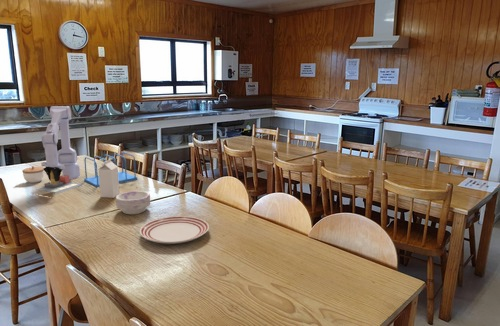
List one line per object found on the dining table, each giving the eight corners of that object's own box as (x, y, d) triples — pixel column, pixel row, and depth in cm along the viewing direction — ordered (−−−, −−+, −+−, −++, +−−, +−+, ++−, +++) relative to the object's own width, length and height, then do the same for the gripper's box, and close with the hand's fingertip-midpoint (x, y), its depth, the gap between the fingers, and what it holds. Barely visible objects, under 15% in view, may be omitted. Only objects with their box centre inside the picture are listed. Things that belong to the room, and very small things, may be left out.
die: (63, 181, 220) (62, 174, 219) (69, 182, 220) (69, 175, 219) (59, 183, 217) (58, 176, 216) (65, 184, 216) (64, 177, 215)
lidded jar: (38, 185, 216) (36, 169, 214) (20, 184, 216) (17, 168, 214) (48, 179, 226) (46, 164, 224) (30, 179, 227) (29, 164, 224)
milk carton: (119, 193, 202) (117, 159, 198) (113, 198, 195) (111, 162, 191) (106, 193, 203) (104, 158, 198) (100, 197, 196) (97, 161, 192)
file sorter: (96, 188, 212) (94, 161, 208) (84, 181, 224) (81, 156, 220) (137, 180, 229) (136, 155, 225) (123, 174, 241) (122, 150, 237)
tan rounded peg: (55, 182, 206) (54, 168, 204) (60, 182, 204) (59, 168, 203) (49, 183, 202) (48, 169, 201) (54, 184, 201) (53, 170, 199)
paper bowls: (134, 203, 188) (134, 188, 186) (157, 209, 180) (156, 193, 179) (109, 212, 175) (108, 196, 173) (132, 219, 168) (131, 202, 166)
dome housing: (55, 184, 217) (54, 180, 216) (63, 186, 215) (63, 181, 214) (44, 187, 211) (44, 183, 210) (53, 189, 208) (53, 185, 208)
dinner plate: (137, 226, 161) (136, 218, 160) (200, 218, 171) (200, 211, 170) (143, 254, 136) (142, 246, 136) (216, 243, 146) (216, 235, 145)
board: (63, 182, 222) (63, 181, 222) (84, 185, 216) (84, 184, 216) (36, 190, 206) (36, 189, 206) (57, 194, 200) (57, 193, 200)
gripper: (35, 155, 199) (38, 180, 202) (55, 158, 193) (58, 184, 197) (46, 153, 205) (49, 177, 208) (66, 155, 200) (69, 180, 203)
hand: (54, 180), depth 203 cm, fingers closed on tan rounded peg, 4 cm apart
